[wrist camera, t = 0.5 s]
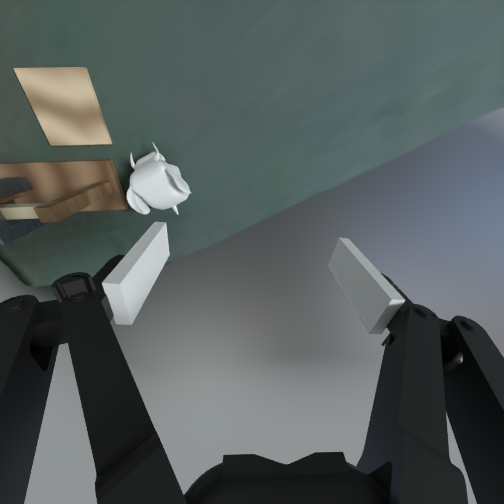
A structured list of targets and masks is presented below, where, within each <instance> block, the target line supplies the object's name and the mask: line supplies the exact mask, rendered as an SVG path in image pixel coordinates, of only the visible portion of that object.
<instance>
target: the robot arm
mask: <svg viewBox="0 0 504 504" xmlns="http://www.w3.org/2000/svg"><path fill="white" fill-rule="evenodd" d="M169 255H170V254H169V245H168V236H167V227H166V223H165V222H154V223H153V224H152V226H151V227H150V228H149V229H148V230H147V231H146V232H145V234H144V235H143V236H142V237H141V238H140V239H139V241H138V242H137V243H136V244H135V245H134V246H133V247H132V249H131V250H130V251H129V252H128V253H127V254H126V255H117V256H115V257H113V258H112V259H110V260H109V261H108V262H107V263H106V264H105V265H104V266H103V267H102V268H101V269H100V271H98V272H97V273H96V275H95V276H94V277H93V278H92V277H91V276H90V275H89V274H88V273H84V272H77V273H72V274H68V275H65V276H62V277H61V278H59V279H57V280H56V281H55V282H54V283H53V284H52V290H53V292H54V294H55V296H56V298H57V300H52V301H45V302H39V301H38V299H37V298H36V297H35V296H32V295H21V296H17V297H13V298H10V299H8V300H5V301H3V302H2V303H0V504H24V501H25V496H26V492H27V487H28V483H29V478H30V474H31V469H32V465H33V460H34V456H35V451H36V447H37V441H38V438H39V433H40V428H41V424H42V419H43V415H44V411H45V406H46V401H47V397H48V392H49V388H50V383H51V379H52V374H53V370H54V365H55V361H56V356H57V352H58V347H59V345H60V344H64V343H68V345H69V350H70V354H71V359H72V363H73V367H74V372H75V377H76V381H77V386H78V390H79V395H80V400H81V404H82V409H83V413H84V418H85V422H86V426H87V431H88V436H89V440H90V445H91V449H92V453H93V458H94V463H95V468H96V476H97V477H96V481H95V491H96V497H97V503H98V504H468V498H467V490H466V483H465V479H464V476H463V474H462V472H461V470H460V469H459V468H457V467H456V466H454V465H453V464H452V463H451V461H450V458H449V447H448V434H447V421H446V412H447V415H448V418H449V421H450V424H451V427H452V430H453V433H454V436H455V439H456V442H457V445H458V448H459V451H460V454H461V457H462V460H463V463H464V466H465V469H466V472H467V475H468V478H469V481H470V484H471V487H472V490H473V493H474V495H475V499H476V502H477V504H504V357H503V356H502V355H501V353H500V352H499V350H498V349H497V347H496V346H495V344H494V343H493V341H492V340H491V338H490V337H489V336H488V334H487V332H486V331H485V330H484V329H483V328H482V327H481V326H480V325H478V324H477V323H476V322H475V321H473V320H471V319H468V318H466V317H463V316H455V317H454V318H453V319H452V320H451V321H447V320H443V319H440V318H438V317H437V315H436V314H435V313H434V312H432V311H431V310H430V309H428V308H426V307H424V306H421V305H418V304H413V303H412V302H411V301H410V300H409V299H408V298H407V296H406V295H404V293H403V292H402V291H401V290H400V289H398V287H397V286H396V285H394V283H393V282H392V281H391V280H390V279H389V278H388V277H387V276H385V275H384V274H382V273H380V272H379V271H378V270H377V269H376V268H375V267H374V266H373V265H372V264H371V263H370V261H369V260H367V258H366V257H365V256H364V255H363V254H362V253H361V252H360V251H359V250H358V249H357V247H355V245H354V244H353V243H352V242H351V241H350V240H349V239H347V238H339V239H338V242H337V245H336V247H335V250H334V252H333V255H332V257H331V260H330V262H329V265H328V266H329V268H330V270H331V272H332V273H333V275H334V277H335V278H336V280H337V282H338V283H339V285H340V286H341V288H342V290H343V292H344V293H345V295H346V296H347V298H348V300H349V301H350V303H351V305H352V306H353V308H354V309H355V311H356V313H357V314H358V316H359V318H360V319H361V321H362V323H363V324H364V326H365V328H366V329H367V331H368V333H369V334H382V333H383V331H384V330H385V328H386V327H387V328H388V330H389V331H390V334H389V335H388V336H387V338H386V339H385V340H384V342H383V343H382V346H384V345H385V344H386V345H385V350H384V355H383V360H382V365H381V369H380V374H379V379H378V384H377V388H376V394H375V398H374V403H373V408H372V412H371V417H370V422H369V427H368V432H367V437H366V442H365V446H364V450H363V454H362V456H361V458H360V460H359V462H358V464H357V466H354V465H352V464H350V463H348V462H346V460H345V457H344V454H343V452H320V453H319V452H318V453H313V454H311V455H309V456H306V457H304V458H302V459H300V460H297V461H295V462H293V463H290V464H287V465H286V464H282V463H279V462H276V461H273V460H270V459H266V458H264V457H261V456H258V455H255V454H242V455H241V454H240V455H223V462H222V463H221V464H218V465H216V466H214V467H213V468H211V469H209V470H208V471H206V472H205V473H204V474H202V475H201V476H200V477H199V478H198V479H197V480H196V481H195V482H194V483H193V484H192V485H191V487H190V488H189V489H188V491H187V492H186V493H185V494H184V495H183V493H182V490H181V488H180V486H179V483H178V481H177V479H176V476H175V474H174V471H173V469H172V467H171V465H170V462H169V460H168V458H167V455H166V453H165V450H164V448H163V445H162V443H161V441H160V438H159V436H158V434H157V432H156V430H155V428H154V426H153V424H152V421H151V419H150V416H149V414H148V412H147V410H146V407H145V405H144V402H143V400H142V397H141V395H140V393H139V390H138V388H137V386H136V383H135V381H134V379H133V376H132V374H131V371H130V369H129V367H128V364H127V362H126V359H125V358H124V355H123V353H122V350H121V348H120V345H119V343H118V340H117V338H116V336H115V334H114V331H113V329H112V326H111V324H110V321H111V319H112V317H114V320H115V322H116V324H127V325H132V323H133V321H134V320H135V318H136V316H137V314H138V312H139V310H140V308H141V307H142V305H143V303H144V301H145V299H146V297H147V295H148V294H149V292H150V290H151V288H152V286H153V284H154V283H155V281H156V279H157V277H158V275H159V273H160V271H161V270H162V268H163V266H164V264H165V262H166V260H167V258H168V257H169ZM462 357H463V362H462V363H461V361H460V359H461V358H462Z"/></svg>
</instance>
